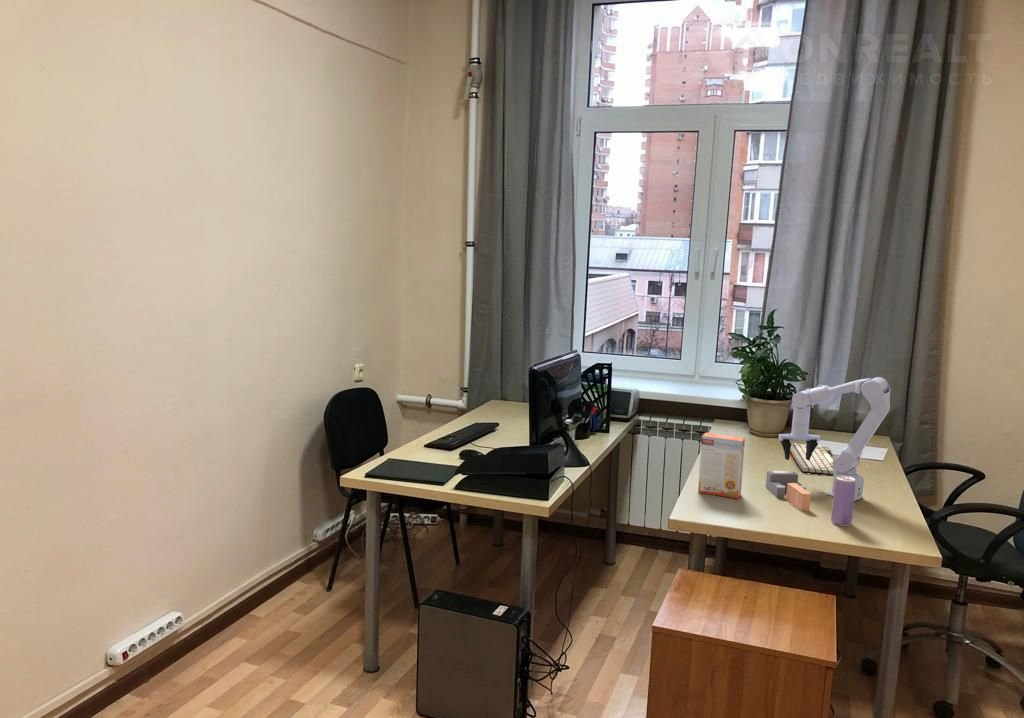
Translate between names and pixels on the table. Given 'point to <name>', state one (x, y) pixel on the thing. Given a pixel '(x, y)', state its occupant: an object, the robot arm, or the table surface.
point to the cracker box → (721, 465)
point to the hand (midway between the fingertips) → (797, 459)
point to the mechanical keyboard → (812, 459)
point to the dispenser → (781, 481)
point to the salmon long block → (798, 496)
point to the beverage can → (843, 500)
